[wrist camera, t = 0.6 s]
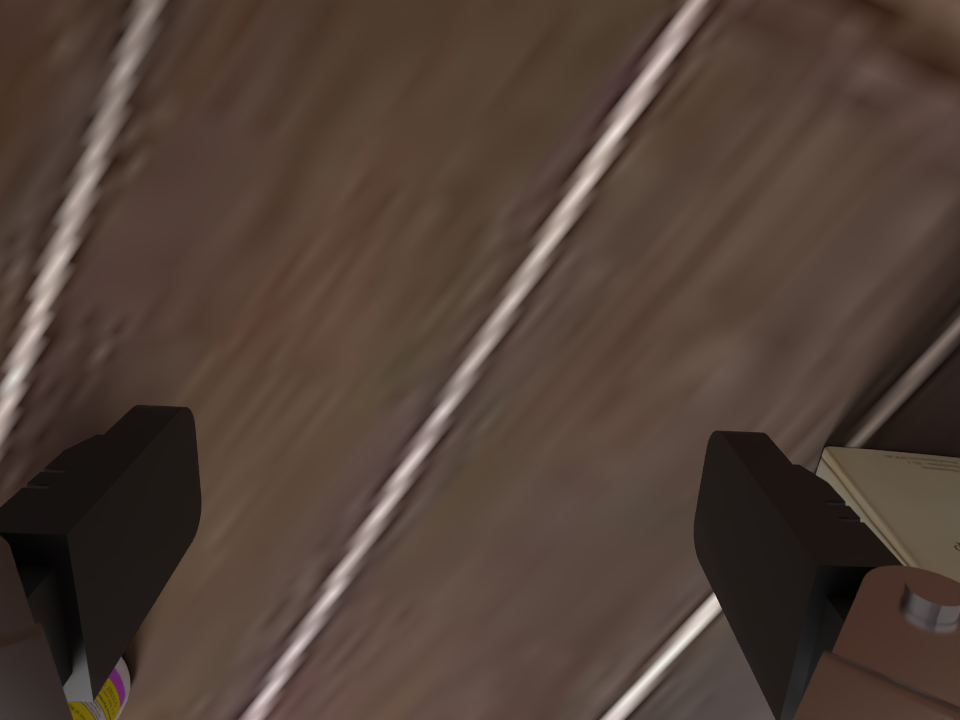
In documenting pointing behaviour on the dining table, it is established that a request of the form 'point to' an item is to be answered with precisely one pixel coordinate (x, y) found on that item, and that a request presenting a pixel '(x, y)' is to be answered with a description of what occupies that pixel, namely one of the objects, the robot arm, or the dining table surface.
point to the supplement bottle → (106, 697)
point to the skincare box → (902, 502)
